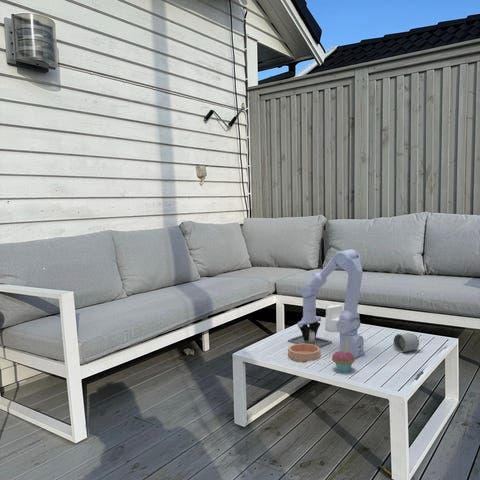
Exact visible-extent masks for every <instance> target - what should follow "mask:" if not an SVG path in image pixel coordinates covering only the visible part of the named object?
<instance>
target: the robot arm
mask: <svg viewBox="0 0 480 480" xmlns="http://www.w3.org/2000/svg"><path fill="white" fill-rule="evenodd" d="M338 267H339V268H341V269H343V270H344V271H345V272H346V273H347V274H348V277H347V283H346V290H345V296H344V297H345V298H344V303H343V304H344V305H343V309H342V313H341V315H340V318H339V320H338V322H337V324H336V326H337V330H338V331H339V332H338V334H339V350H337V351H336V352H338V351H345V350H346V343H347V342H348V348H347V351H348V352H350V353H351V354H352V355H354V357H355V359H356V358H359V357H360V356H363V355H365V352H364V351H365V350H364V347H365V346H364V345H365V344H364V340H365V339H364V337H363V336H362V335H360V334H359V333H358V329H359V328H360V327H361V320H360V313H358V306H359V299H360V293H361V285H362V279H363V273H364V272H363V266H362V264H361V255H360V254H359V253H358V252H357V250H356V249H353V248H350V249H346V250H338V251H337V252H336V253H335V254H334V255H333V256H332V257H331V259H330V260H329V261H328V263H327V264H326V265H325V266H324V268H323V269H321V271H320V272H314V273H313V274H312V277H311V278H310V279H309V280H307V282H306V283H305V284H302V285H301V287H300V288H299V289H300V290H299V292H300V295H301V296H302V306H303V307H302V318H301V320H299V321H298V322H297V327H298V328H299V330H300V332H301V335H303V338H304V341H308V340H309V332H310V330H312V331H315V338H316V337H317V334H318V330H319V329H320V326H321V321H322V316H318V315H317V302H316V299H317V295H319V294H318V293H319V290H320V289H321V288H323V286H324V285H325V283H326V282H327V280H328V279H327V278H328V277H329V275H331V274H332V273H333V272H334V271H335V270H336V269H337V268H338Z"/></svg>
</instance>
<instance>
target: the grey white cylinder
mask: <svg viewBox="0 0 480 480" xmlns="http://www.w3.org/2000/svg"><path fill="white" fill-rule="evenodd" d="M342 312H343V305H342V304H334V305H333V304H332V305H329V306H326V307H325V317H324V319H325V321H324V329H325V331H327V332H330V333H339V331H338V330H337V326H336V324H337V322H338V320H339V318H340V315H341V313H342Z"/></svg>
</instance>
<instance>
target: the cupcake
mask: <svg viewBox="0 0 480 480" xmlns="http://www.w3.org/2000/svg"><path fill="white" fill-rule="evenodd" d="M347 348H348V342H347V343H346V350H345V351H339V350H337V351H338V352H337V351H335V352H334V353H333V354H332V357H331V360H332V362H334V363H335V365H336V369H337V371H338V372H342V373H347V372H349V371H351V368H352V365H353V363H355V360H356V358H355V357H354V355H352V354H351V353H350V352H348V351H347Z"/></svg>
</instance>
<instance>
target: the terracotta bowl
mask: <svg viewBox="0 0 480 480" xmlns="http://www.w3.org/2000/svg"><path fill="white" fill-rule="evenodd" d="M287 355H288V359H290V360H292V361H295V362H298V363H299V362H300V363H308V362H309V361H315V360H317V359H319V358H320V357H321V348H319V347H318V346H316V345H313V344H304V343H301V344H294V343H293V344H292V345H289V346H288V348H287Z"/></svg>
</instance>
